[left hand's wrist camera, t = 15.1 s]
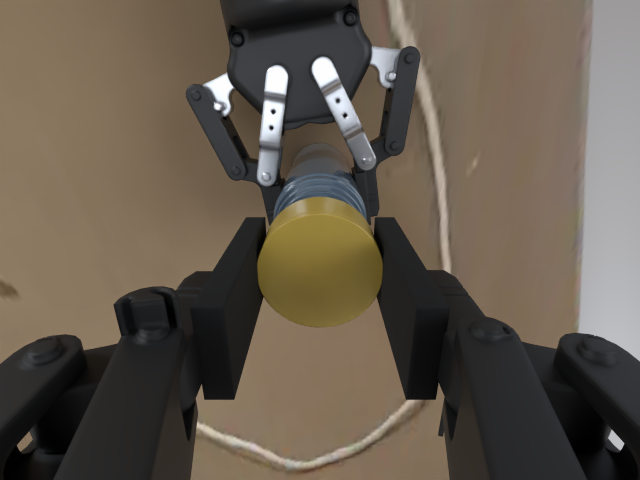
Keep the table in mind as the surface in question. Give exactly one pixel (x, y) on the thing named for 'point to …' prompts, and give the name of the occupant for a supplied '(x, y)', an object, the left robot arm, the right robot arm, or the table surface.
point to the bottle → (319, 178)
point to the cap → (320, 263)
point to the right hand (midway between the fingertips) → (326, 226)
